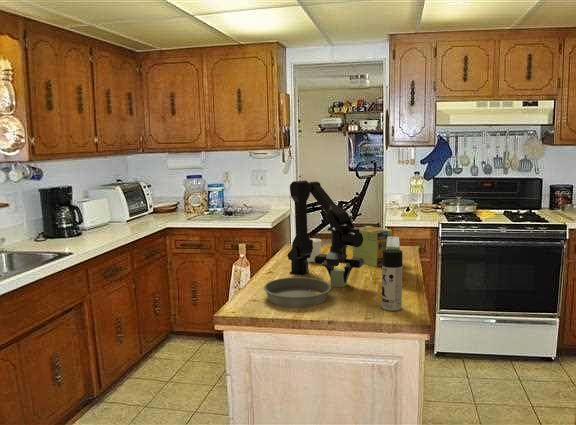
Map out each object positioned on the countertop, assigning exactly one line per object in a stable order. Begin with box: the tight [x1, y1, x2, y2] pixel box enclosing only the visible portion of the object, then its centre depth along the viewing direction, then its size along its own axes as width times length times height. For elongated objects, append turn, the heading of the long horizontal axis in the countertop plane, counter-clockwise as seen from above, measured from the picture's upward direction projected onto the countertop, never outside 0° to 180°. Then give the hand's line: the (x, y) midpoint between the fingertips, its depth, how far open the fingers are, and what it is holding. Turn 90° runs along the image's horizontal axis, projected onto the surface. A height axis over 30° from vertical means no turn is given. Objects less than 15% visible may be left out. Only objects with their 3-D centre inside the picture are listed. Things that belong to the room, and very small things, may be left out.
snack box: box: [386, 236, 401, 250], centre depth 210 cm, size 21×6×15 cm, turn 168°
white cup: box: [307, 237, 322, 263], centre depth 238 cm, size 8×8×10 cm
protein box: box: [352, 225, 393, 267], centre depth 234 cm, size 10×15×16 cm
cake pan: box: [263, 276, 332, 308], centre depth 186 cm, size 25×25×4 cm
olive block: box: [330, 267, 348, 288], centre depth 200 cm, size 5×5×6 cm
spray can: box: [381, 249, 403, 312], centre depth 171 cm, size 7×7×20 cm
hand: (338, 281), depth 200 cm, fingers closed on olive block, 5 cm apart
